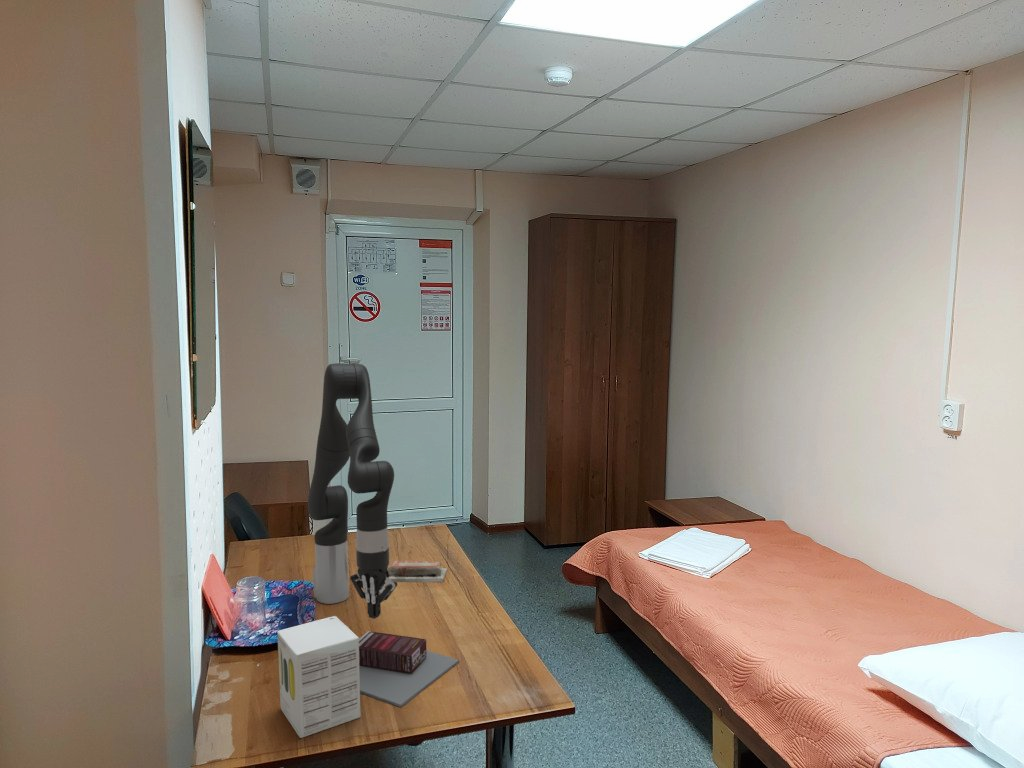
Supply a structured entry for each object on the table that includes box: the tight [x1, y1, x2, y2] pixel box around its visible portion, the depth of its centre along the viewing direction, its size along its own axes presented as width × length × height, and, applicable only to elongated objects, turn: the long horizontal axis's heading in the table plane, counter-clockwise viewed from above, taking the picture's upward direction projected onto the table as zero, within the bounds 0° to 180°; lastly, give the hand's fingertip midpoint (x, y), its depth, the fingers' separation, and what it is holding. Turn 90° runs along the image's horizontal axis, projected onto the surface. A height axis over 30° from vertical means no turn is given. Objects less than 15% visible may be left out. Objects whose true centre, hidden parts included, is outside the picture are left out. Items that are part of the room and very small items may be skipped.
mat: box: [359, 649, 460, 708], centre depth 164 cm, size 20×22×1 cm
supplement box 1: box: [276, 615, 362, 739], centre depth 146 cm, size 13×13×18 cm
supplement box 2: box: [359, 630, 427, 674], centre depth 167 cm, size 9×5×16 cm
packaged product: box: [388, 560, 448, 583], centre depth 222 cm, size 18×5×10 cm
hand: (374, 616), depth 166 cm, fingers closed
